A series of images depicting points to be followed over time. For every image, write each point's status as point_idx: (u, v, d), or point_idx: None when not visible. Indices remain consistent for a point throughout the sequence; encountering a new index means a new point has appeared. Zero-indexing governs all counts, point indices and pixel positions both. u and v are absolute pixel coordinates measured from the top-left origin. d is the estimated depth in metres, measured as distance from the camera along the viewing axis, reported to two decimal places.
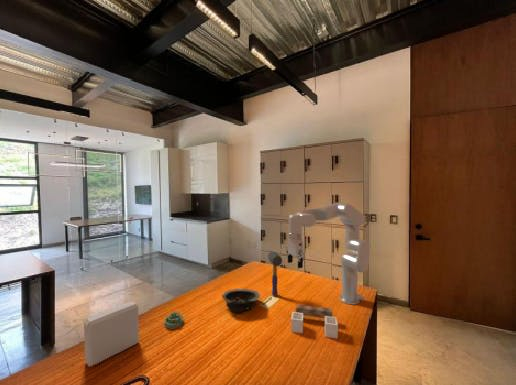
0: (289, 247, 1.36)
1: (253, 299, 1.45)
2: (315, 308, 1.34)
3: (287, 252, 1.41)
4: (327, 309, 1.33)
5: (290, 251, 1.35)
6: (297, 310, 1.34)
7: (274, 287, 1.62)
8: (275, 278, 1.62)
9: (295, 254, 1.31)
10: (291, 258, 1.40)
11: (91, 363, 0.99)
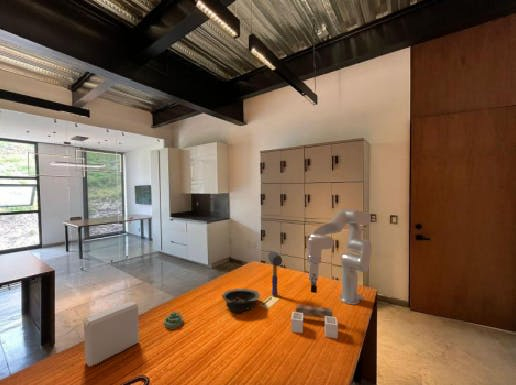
0: None
1: (253, 299, 1.45)
2: (315, 308, 1.34)
3: None
4: (327, 309, 1.33)
5: None
6: (297, 310, 1.34)
7: (274, 287, 1.62)
8: (275, 278, 1.62)
9: None
10: None
11: (91, 363, 0.99)
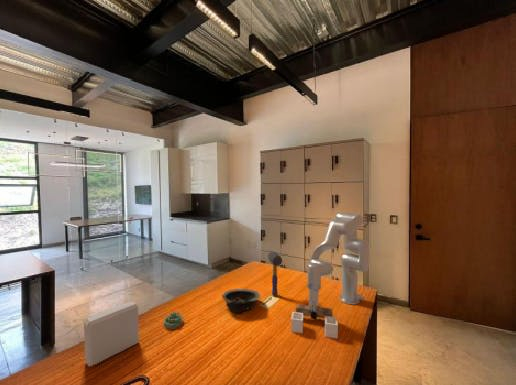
0: None
1: (253, 299, 1.45)
2: None
3: (315, 309, 1.30)
4: (327, 309, 1.33)
5: None
6: (297, 310, 1.34)
7: (274, 287, 1.62)
8: (275, 278, 1.62)
9: None
10: None
11: (91, 363, 0.99)
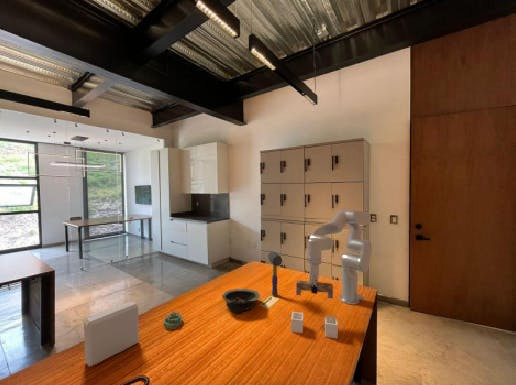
0: (318, 274, 1.30)
1: (253, 299, 1.45)
2: None
3: (315, 284, 1.30)
4: (327, 284, 1.32)
5: None
6: (297, 285, 1.34)
7: (274, 287, 1.62)
8: (275, 278, 1.62)
9: None
10: None
11: (91, 363, 0.99)
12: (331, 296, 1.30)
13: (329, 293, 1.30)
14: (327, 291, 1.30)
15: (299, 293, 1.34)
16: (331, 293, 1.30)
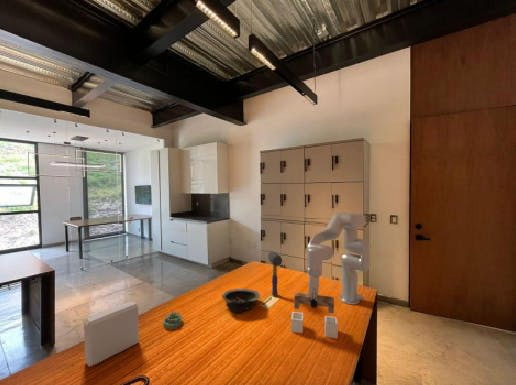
0: (318, 287, 1.20)
1: (253, 299, 1.45)
2: (315, 296, 1.23)
3: None
4: (328, 297, 1.22)
5: None
6: (296, 298, 1.24)
7: (274, 287, 1.62)
8: (275, 278, 1.62)
9: None
10: None
11: (91, 363, 0.99)
12: (332, 310, 1.20)
13: (329, 307, 1.20)
14: (328, 305, 1.20)
15: (297, 307, 1.24)
16: (332, 307, 1.20)
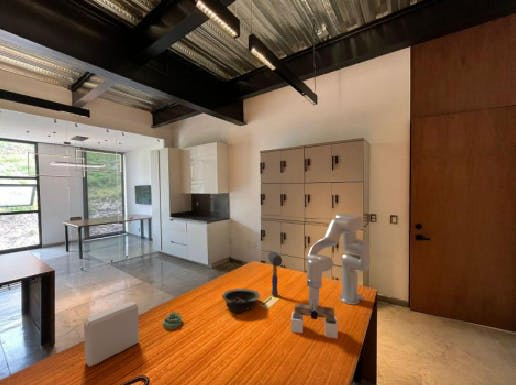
0: None
1: (253, 299, 1.45)
2: None
3: (315, 309, 1.20)
4: (328, 308, 1.23)
5: None
6: (296, 309, 1.25)
7: (274, 287, 1.62)
8: (275, 278, 1.62)
9: None
10: None
11: (91, 363, 0.99)
12: (332, 322, 1.21)
13: (330, 318, 1.21)
14: (328, 316, 1.21)
15: (298, 318, 1.25)
16: (332, 319, 1.20)
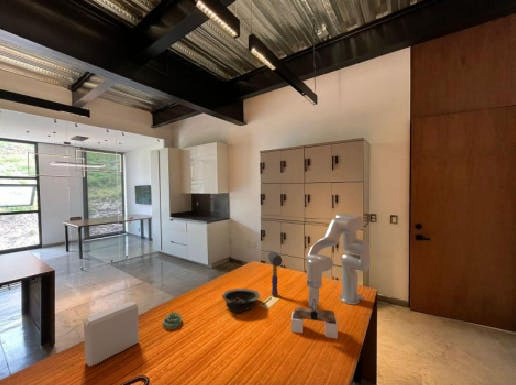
0: None
1: (253, 299, 1.45)
2: None
3: (315, 310, 1.17)
4: (328, 312, 1.23)
5: None
6: (296, 313, 1.25)
7: (274, 287, 1.62)
8: (275, 278, 1.62)
9: None
10: None
11: (91, 363, 0.99)
12: None
13: (330, 322, 1.21)
14: (328, 320, 1.21)
15: None
16: (332, 322, 1.21)
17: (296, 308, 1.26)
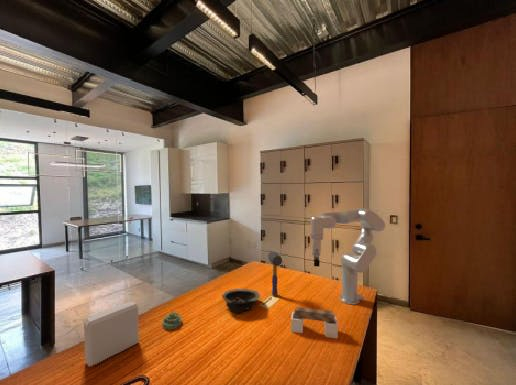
0: (320, 249, 1.43)
1: (253, 299, 1.45)
2: (315, 310, 1.24)
3: (318, 257, 1.39)
4: (328, 312, 1.23)
5: None
6: (296, 313, 1.25)
7: (274, 287, 1.62)
8: (275, 278, 1.62)
9: None
10: None
11: (91, 363, 0.99)
12: None
13: (330, 322, 1.21)
14: (328, 320, 1.21)
15: None
16: (332, 322, 1.21)
17: (296, 308, 1.26)
